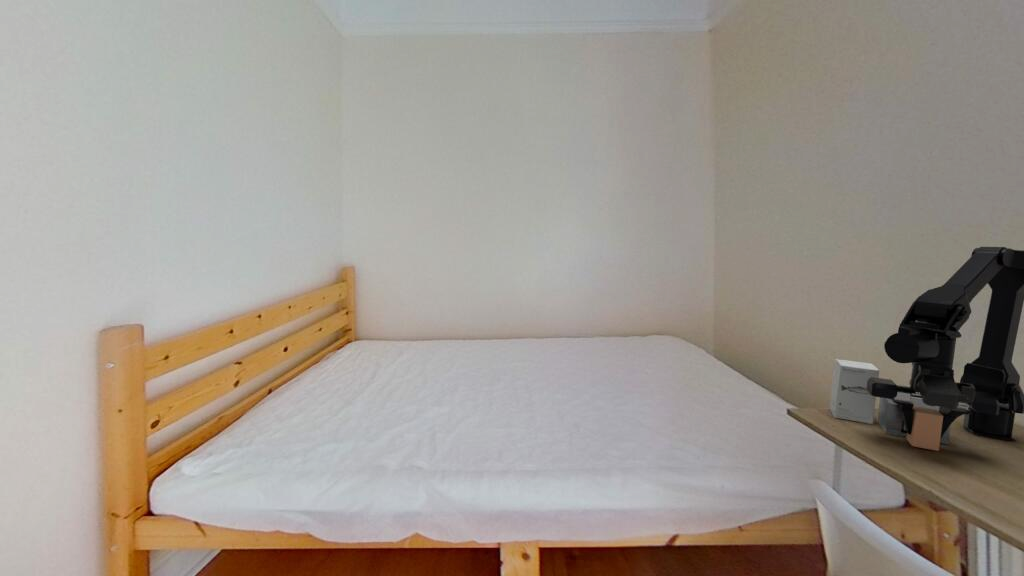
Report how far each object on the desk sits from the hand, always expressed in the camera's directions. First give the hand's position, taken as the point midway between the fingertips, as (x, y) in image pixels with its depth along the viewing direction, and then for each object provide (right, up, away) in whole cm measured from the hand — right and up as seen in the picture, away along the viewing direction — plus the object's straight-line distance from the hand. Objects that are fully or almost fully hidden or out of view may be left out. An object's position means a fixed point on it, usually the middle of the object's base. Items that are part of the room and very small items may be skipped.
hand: (923, 436), depth 91 cm
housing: (+4, -1, +7) cm, 8 cm away
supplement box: (-3, -1, +15) cm, 16 cm away
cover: (+2, -1, +4) cm, 5 cm away
